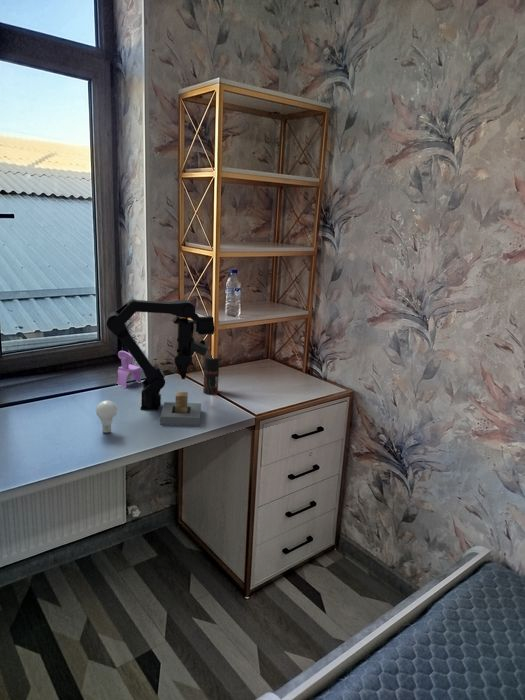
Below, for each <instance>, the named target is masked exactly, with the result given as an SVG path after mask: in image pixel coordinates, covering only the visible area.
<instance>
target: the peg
mask: <svg viewBox="0 0 525 700" xmlns="http://www.w3.org/2000/svg"><path fill="white" fill-rule="evenodd" d="M188 395H189V393H188V391H176V392H175V402H174V403H175V413H187V403H188V398H189V396H188Z"/></svg>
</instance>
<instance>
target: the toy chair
mask: <svg viewBox="0 0 525 700" xmlns="http://www.w3.org/2000/svg"><path fill="white" fill-rule="evenodd" d="M117 356H118V358H119V360H120V362H121V366H118V367H117V368H118V369H117V377H118V378H117V382H116V383H115V385H116V384H118V385H121V386H123V387H127V386H128V385H127V381H128V377H129V375H130V374H131V373H132V375H131V377H130V380H131V379H132V380H136V381H138V382H140V383H141V384H142V380H141V378H142V377H141V375H142V371H143V370H142V368H141V367H140V366H137V365H134V364H132V363H133V362H134V357H133V356H132V354H131V353H130V352H127V351H125V350H120V351H118V353H117ZM127 388H128V387H127Z"/></svg>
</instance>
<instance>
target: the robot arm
mask: <svg viewBox="0 0 525 700" xmlns="http://www.w3.org/2000/svg"><path fill="white" fill-rule="evenodd" d="M136 313H150V314H151V313H152V314H153V313H155V314H169V315H173V316H175V318H173V319H172V320H171V321H172V322H173V324H177V338H176V341H177V343H176V344H177V347H176V354H175V356H174V361H173V362H174V365H175V366H176V368H177V371H178V373H179V375H180V378H181V380H185V379H186V376H187V372H188V368H189V366H191V365H192V364H193V356H194V355H195V354H194V353H196V354H199V355H201V357H205V356H207V353H208V350H209V345H208V344H206V340H205V339H203V338H202V339H200V340H199V341H196V340H195V336H194V333H197V335H198V336H202V335H207V336H209V335H213V336H214V333H215V330H216V329H215V328H216V327H215V322H214V317H213V316H211V315H209V316H208V315H207V316H199V315H198V314H197V313H196V307H195V305H194V304H193V303H192V302H191V301H190V300H187V299H179V300H173V301H158V300H156V301H155V300H143V299H134V298H132V299H130V300H128V301H127V302H126V303H125V304H124V305H122V306H120V307H119V308H117V309H116V310H115V311H111V312H109V313H108V314H107V315H106V318H105V322H106V323H105V324H106V326H107V329H108V330H109V331H110V332H111V333H112V334H113V335H114V336H116V337H117V338H118V339H119V340H120V341H121V342H122V344H124V346H125V347H126V348H127V350H128V353H129V354H131V355H132V357H133V360H135V362H136V363H137V364H138V365H139V366H138V367H141V370H142V371H143V374H144V376H145V379H144V380H143V381H141V386H142V391H141V400H140V401H141V403H140V404H141V406H140V410H143V411H144V410H146V411H158V410H159V409H160V407H161V405H162V394H161V389H163V388H164V387H165V385H166V377H165V376H166V375H165V374H164V373H165V372H164V371H163V370H161V368H160V367H159V364H158V363H155V364H153V363H151V362H150V360H149V359H148V357H147V355H146V354H145V352H144V351H143V350H142V348H141V347H140V346H139V344H138V343H137V341H136V340H135V339H134V337H133V336H132V335H131V333H130V331H129V328H128V326H127V324H126V323H127V322H128V321H130V319H131V318H132V317H133V316H134V315H135V314H136Z"/></svg>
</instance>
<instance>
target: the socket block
mask: <svg viewBox="0 0 525 700" xmlns="http://www.w3.org/2000/svg"><path fill="white" fill-rule="evenodd" d="M201 412H202V402H201V403H198V402H187V413H175V402H172V401H171V402H170V401H169V402H168V401H166V402H165V401H164V402H163V406H162V409H161V413H160V416H159V417H160V418H159V425H160V426H192V427H195V426H196V427H197V426H198V427H199V426H200V422H201Z"/></svg>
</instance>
